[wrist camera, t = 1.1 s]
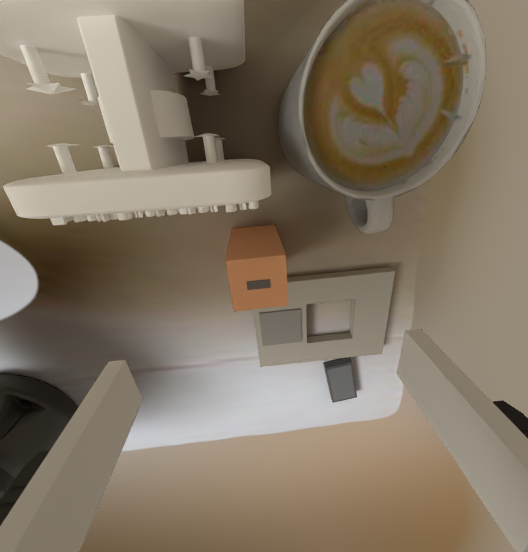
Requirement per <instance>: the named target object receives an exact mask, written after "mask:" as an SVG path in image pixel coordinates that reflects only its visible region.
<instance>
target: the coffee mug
mask: <svg viewBox="0 0 528 552" xmlns="http://www.w3.org/2000/svg"><path fill="white" fill-rule="evenodd" d="M486 66H487V63H486V45H485V39H484V35H483V30H482V27H481V25H480V22H479V19H478V17H477V15H476V12H475V10H474V8H473V7H472V5H471V4H470V3H469V1H468V0H346V1H345V2H344V3H343V4H342V5H341V6H340V7H339V9H338V10H337V11H336V12H335V13H334V14H333V15H332V16H331V18H330V19H329V20H328V22H327V23H326V24H325V26H324V27H323V28H322V30H321V31H320V33H319V35H318V36H317V38H316V39H315V41H314V43H313V44H312V46H311V48H310V49H309V51H308V52H307V54H306V56H305V57H304V59H303V61H302V62H301V64H300V65H299V67H298V69H297V70H296V72H295V74H294V75H293V77H292V79H291V80H290V82H289V84H288V85H287V87H286V89H285V91H284V94H283V96H282V99H281V103H280V107H279V112H278V136H279V141H280V144H281V148H282V150H283V153H284V155H285V157H286V158H287V160H288V162H289V163H290V164H291V166H292V167H293V168H294V169H295V170H296V171H297V172H299V173H300V174H301V175H303V176H304V177H306V178H308V179H310V180H312V181H315V182H317V183H319V184H321V185H323V186H325V187H328V188H330V189H332V190H334V191H336V192H338V193H340V194H343V195H344V196H345V201H346V206H347V210H348V213H349V216H350V218H351V221H352V222H353V224H354V225H355V226H356V227H357V228H358V229H359V230H360V231H362V232H364V233H367V234H374V233H378V232H382V231H384V230H386V229H387V228H388V227H389V226H390V225H391V223H392V219H393V215H394V200H393V197H396V196H399V195H402V194H405V193H407V192H409V191H411V190H413V189H415V188H417V187H418V186H420V185H421V184H423V183H425V182H426V181H428V180H429V179H430V178H431V177H432V176H433V175H435V174H436V173H437V172H438V171H439V170H440V169H441V168H442V167H443V166H444V165H445V164H446V163H447V162H448V161H449V160H450V159H451V158H452V156H453V155H454V154H455V153H456V151H457V150H458V148H459V147H460V145H461V144H462V142H463V141H464V139H465V137H466V135H467V133H468V131H469V130H470V128H471V126H472V124H473V122H474V119H475V117H476V114H477V111H478V109H479V106H480V102H481V99H482V95H483V90H484V85H485V80H486Z"/></svg>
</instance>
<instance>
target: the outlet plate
mask: <svg viewBox="0 0 528 552" xmlns="http://www.w3.org/2000/svg"><path fill="white" fill-rule="evenodd" d="M394 277H395V270H393V269H392V268H391V267H382V268H372V269H363V270H353V271H343V272H334V273H324V274H314V275H304V276H295V277H287V287H288V306H280V307H270V308H261V309H253V311H254V319H255V327H256V335H257V343H258V351H259V359H260V367H262V366H272V365H281V364H290V363H300V362H309V361H318V360H328V359H337V358H346V357H355V356H365V355H374V354H382V351H383V345H384V339H385V333H386V327H387V320H388V314H389V308H390V302H391V295H392V289H393V283H394ZM342 300H352V306H351V318H350V330H349V332H347V333H338V334H329V335H319V336H310V337H307V320H306V304H314V303H323V302H333V301H342Z"/></svg>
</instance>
